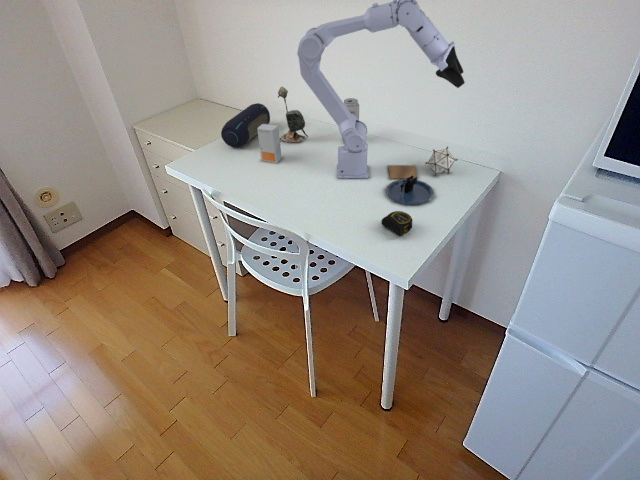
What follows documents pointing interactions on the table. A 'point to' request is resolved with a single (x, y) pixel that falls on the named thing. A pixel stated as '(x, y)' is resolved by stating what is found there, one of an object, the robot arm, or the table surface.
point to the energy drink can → (352, 106)
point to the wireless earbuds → (409, 184)
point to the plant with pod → (292, 122)
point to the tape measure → (398, 222)
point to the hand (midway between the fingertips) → (460, 79)
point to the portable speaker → (245, 125)
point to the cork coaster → (401, 171)
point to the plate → (410, 193)
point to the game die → (441, 161)
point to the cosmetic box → (269, 143)
